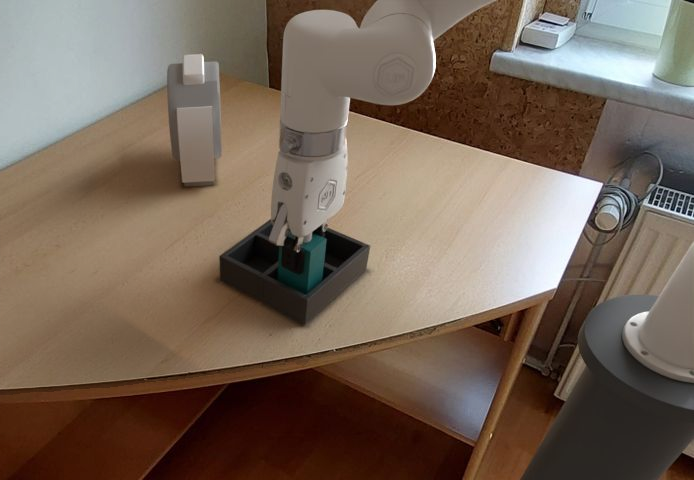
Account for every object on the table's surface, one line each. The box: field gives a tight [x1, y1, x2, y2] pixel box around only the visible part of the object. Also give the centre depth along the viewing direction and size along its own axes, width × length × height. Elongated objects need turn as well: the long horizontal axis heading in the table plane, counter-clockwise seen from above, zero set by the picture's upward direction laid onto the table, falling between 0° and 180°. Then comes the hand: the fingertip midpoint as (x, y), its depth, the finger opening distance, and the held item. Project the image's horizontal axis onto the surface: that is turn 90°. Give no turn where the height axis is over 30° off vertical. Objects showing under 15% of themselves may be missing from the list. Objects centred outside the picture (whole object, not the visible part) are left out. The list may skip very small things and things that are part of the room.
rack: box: [218, 218, 371, 326], centre depth 90 cm, size 15×15×5 cm
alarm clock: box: [166, 53, 223, 187], centre depth 108 cm, size 18×8×20 cm, turn 0°
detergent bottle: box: [278, 231, 327, 295], centre depth 84 cm, size 5×4×11 cm
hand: (301, 260), depth 84 cm, fingers closed on detergent bottle, 3 cm apart
